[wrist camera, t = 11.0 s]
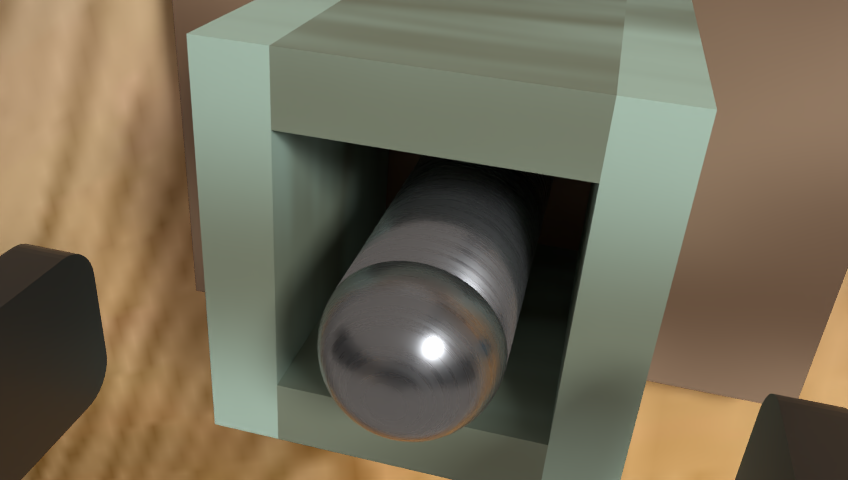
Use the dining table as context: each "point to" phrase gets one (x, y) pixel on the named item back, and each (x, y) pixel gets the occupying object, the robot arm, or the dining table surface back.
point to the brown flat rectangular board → (714, 196)
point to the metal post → (433, 300)
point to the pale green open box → (458, 140)
